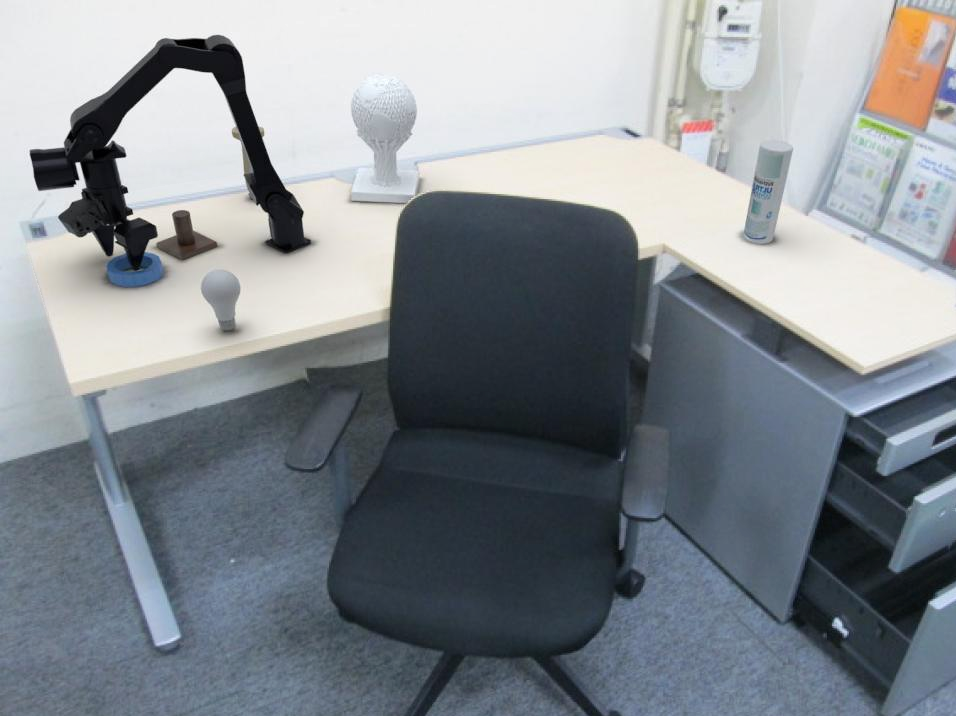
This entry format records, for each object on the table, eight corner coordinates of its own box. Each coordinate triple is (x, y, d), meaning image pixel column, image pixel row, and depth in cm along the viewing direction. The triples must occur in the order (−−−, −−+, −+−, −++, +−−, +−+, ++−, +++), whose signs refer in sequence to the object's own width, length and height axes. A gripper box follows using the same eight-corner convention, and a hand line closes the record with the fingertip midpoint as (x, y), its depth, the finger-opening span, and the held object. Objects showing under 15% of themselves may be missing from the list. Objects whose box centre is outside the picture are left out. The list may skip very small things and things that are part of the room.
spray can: (779, 238, 193) (799, 146, 182) (763, 247, 189) (782, 153, 178) (753, 228, 197) (771, 137, 185) (736, 236, 193) (754, 144, 181)
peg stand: (217, 246, 178) (211, 213, 174) (182, 260, 173) (175, 226, 169) (192, 234, 182) (186, 201, 178) (157, 247, 177) (149, 213, 173)
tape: (173, 274, 168) (170, 262, 167) (128, 292, 162) (125, 280, 161) (144, 258, 173) (141, 247, 171) (99, 275, 167) (96, 264, 165)
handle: (270, 202, 196) (260, 134, 187) (239, 201, 195) (229, 133, 187) (274, 194, 200) (266, 126, 191) (245, 193, 199) (234, 125, 191)
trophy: (420, 179, 210) (418, 68, 196) (416, 203, 199) (413, 88, 184) (358, 176, 209) (351, 65, 195) (351, 201, 198) (343, 85, 183)
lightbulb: (213, 320, 156) (202, 262, 149) (250, 320, 156) (240, 262, 150) (205, 339, 151) (194, 280, 144) (243, 339, 151) (233, 280, 145)
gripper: (30, 181, 159) (53, 262, 168) (90, 211, 150) (111, 295, 159) (89, 164, 166) (109, 242, 175) (150, 192, 157) (167, 273, 166)
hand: (123, 263), depth 169 cm, fingers open, 8 cm apart
